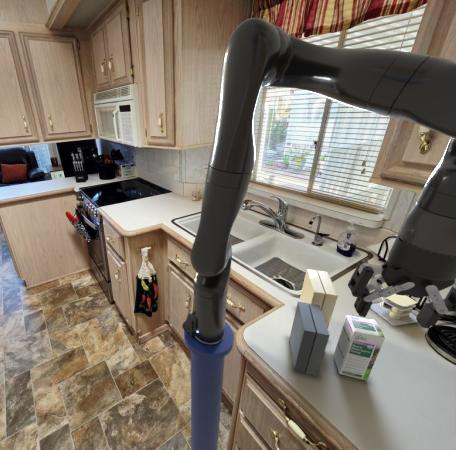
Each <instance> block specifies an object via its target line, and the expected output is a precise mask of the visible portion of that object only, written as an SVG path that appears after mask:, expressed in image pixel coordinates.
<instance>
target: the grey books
mask: <svg viewBox="0 0 456 450" xmlns="http://www.w3.org/2000/svg"><path fill="white" fill-rule="evenodd" d="M329 338H330V332H329V328H328V329H327V326H326V323H325V320H324V317H323V314H322V311H321V308H320V305H316V304H310V303H309V304H308V303H304V302H299V301H297V303H296V308H295V313H294V316H293V321H292V326H291V329H290V334H289V340H288V341H289V346H290V354H291V359H292V367H293V371H295V372H299V373H301V374H306V375H311V376H313V377H317V376H318V373H319V370H320V366H321V363H322V361H323V357H324V354H325V351H326V347H327V345H328V342H329Z"/></svg>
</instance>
